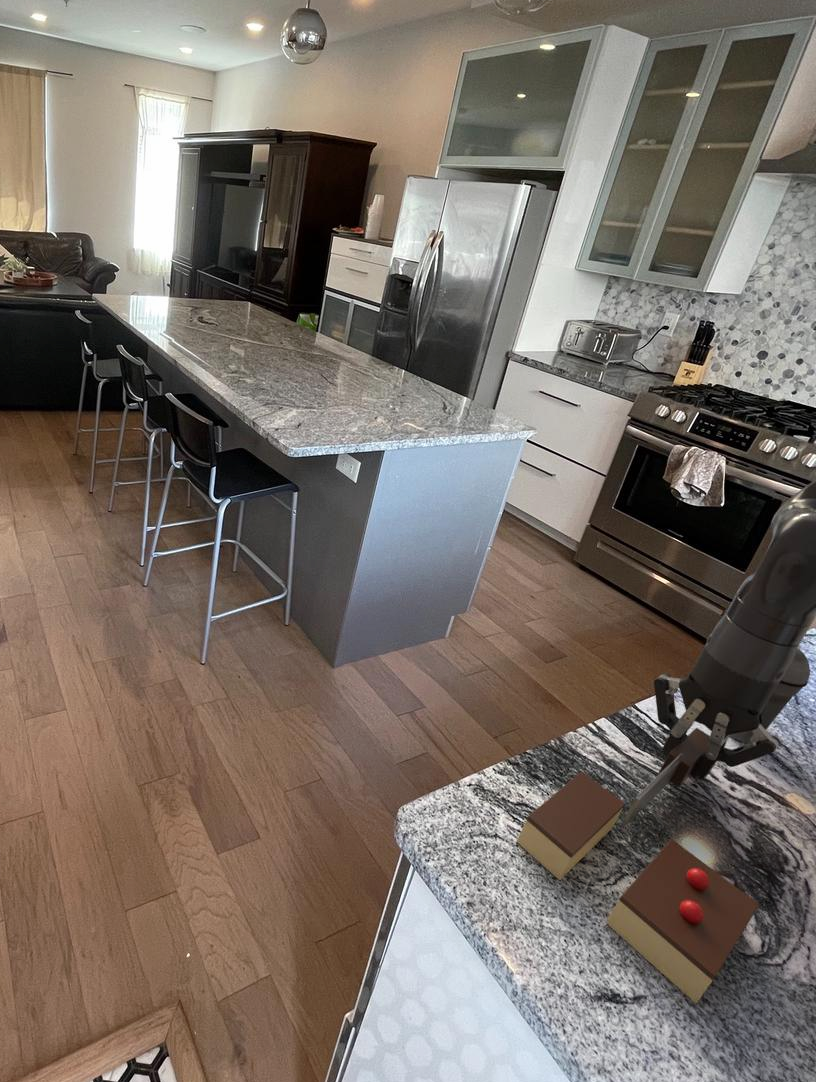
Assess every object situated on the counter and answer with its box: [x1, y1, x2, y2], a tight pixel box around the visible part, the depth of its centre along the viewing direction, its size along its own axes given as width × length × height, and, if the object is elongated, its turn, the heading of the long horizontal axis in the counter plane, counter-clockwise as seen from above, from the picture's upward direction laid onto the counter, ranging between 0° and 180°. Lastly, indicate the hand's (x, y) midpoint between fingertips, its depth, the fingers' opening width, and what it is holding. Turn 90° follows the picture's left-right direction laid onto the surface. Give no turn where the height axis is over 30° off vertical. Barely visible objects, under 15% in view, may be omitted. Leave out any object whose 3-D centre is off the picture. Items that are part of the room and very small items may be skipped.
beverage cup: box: [729, 647, 811, 744], centre depth 87 cm, size 7×7×20 cm
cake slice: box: [516, 771, 626, 881], centre depth 69 cm, size 12×5×4 cm, turn 126°
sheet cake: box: [605, 838, 760, 1004], centre depth 61 cm, size 12×8×6 cm, turn 126°
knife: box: [619, 727, 710, 829], centre depth 76 cm, size 22×2×4 cm, turn 126°
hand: (682, 765), depth 80 cm, fingers closed on knife, 2 cm apart
